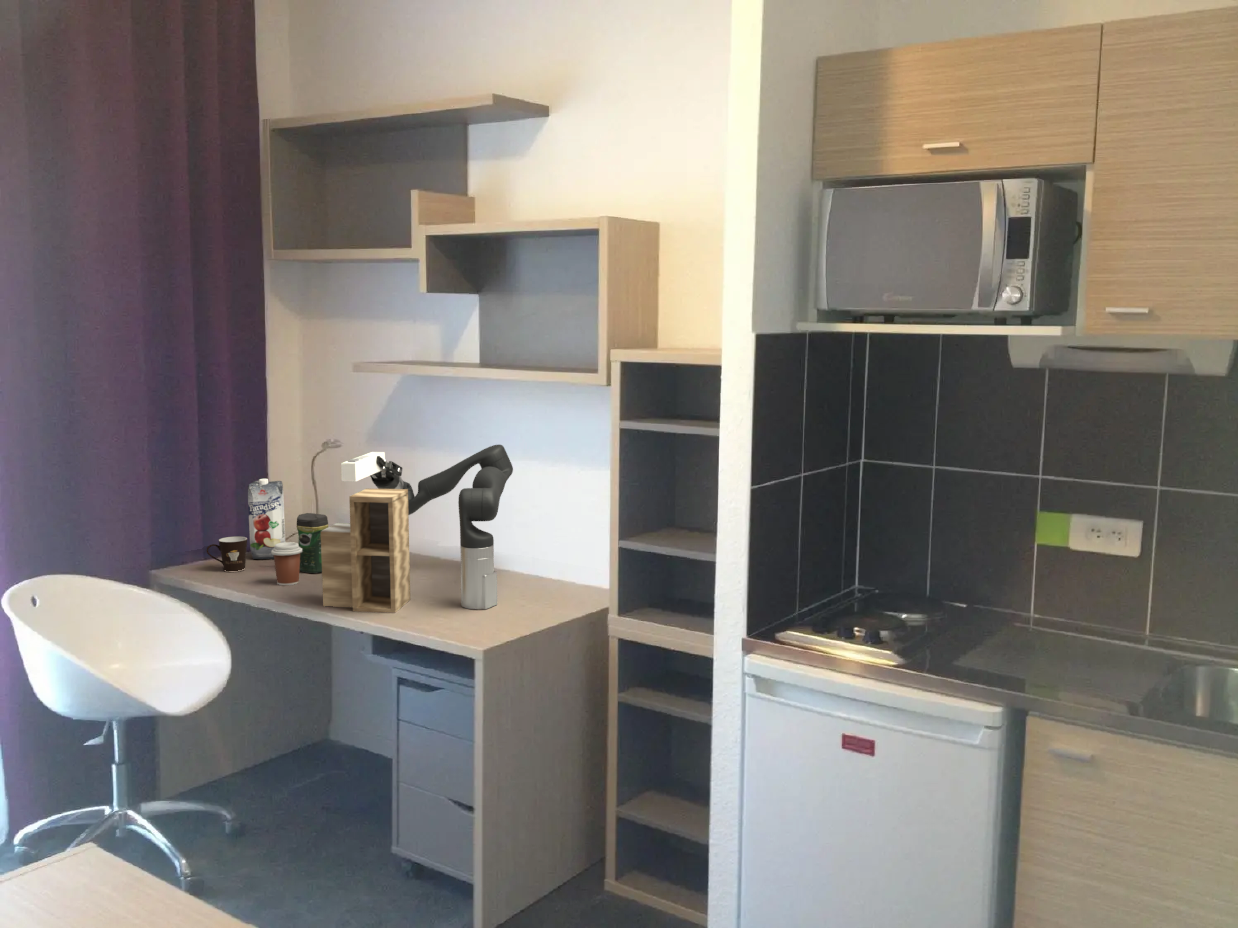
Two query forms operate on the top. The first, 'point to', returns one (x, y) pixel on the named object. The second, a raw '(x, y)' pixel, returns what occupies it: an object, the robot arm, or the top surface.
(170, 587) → the top surface
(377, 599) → the step shelf
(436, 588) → the top surface
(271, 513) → the juice carton
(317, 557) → the coffee jar
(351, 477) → the white long block
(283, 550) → the coffee cup
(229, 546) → the coffee mug
